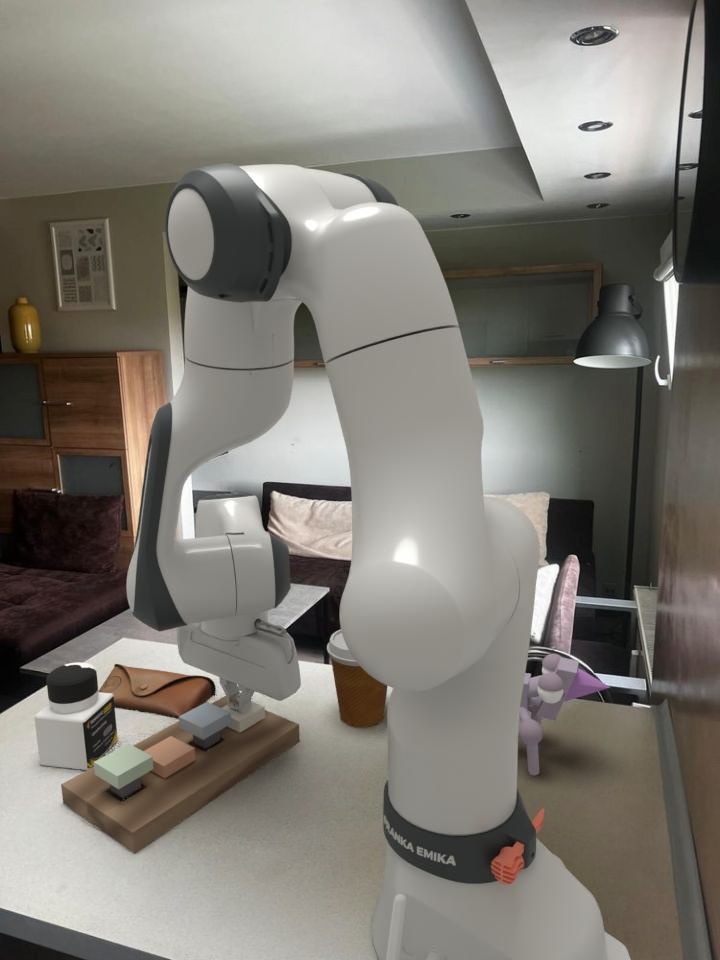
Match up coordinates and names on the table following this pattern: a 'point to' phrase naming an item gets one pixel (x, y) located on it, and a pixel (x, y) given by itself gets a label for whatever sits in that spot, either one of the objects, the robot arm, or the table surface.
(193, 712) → the key slate
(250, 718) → the key ivory
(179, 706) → the sunglasses case
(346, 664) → the disposable coffee cup
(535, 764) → the purple toy figure
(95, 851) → the table surface
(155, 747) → the key terracotta
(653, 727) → the table surface
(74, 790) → the wooden board
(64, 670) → the medicine bottle
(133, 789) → the key sage
